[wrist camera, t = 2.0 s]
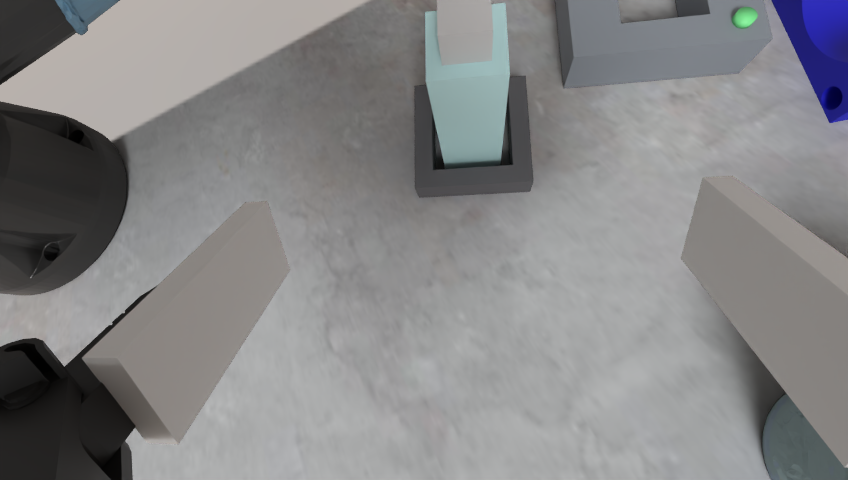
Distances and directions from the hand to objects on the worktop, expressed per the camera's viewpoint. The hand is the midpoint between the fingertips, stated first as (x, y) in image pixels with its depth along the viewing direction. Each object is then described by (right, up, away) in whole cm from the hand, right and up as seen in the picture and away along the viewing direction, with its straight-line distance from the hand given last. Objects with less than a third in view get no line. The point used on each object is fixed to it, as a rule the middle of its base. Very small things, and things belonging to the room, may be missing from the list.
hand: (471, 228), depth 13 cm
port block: (+15, +16, +18) cm, 28 cm away
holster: (+2, +7, +18) cm, 19 cm away
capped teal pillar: (+2, +7, +18) cm, 19 cm away
